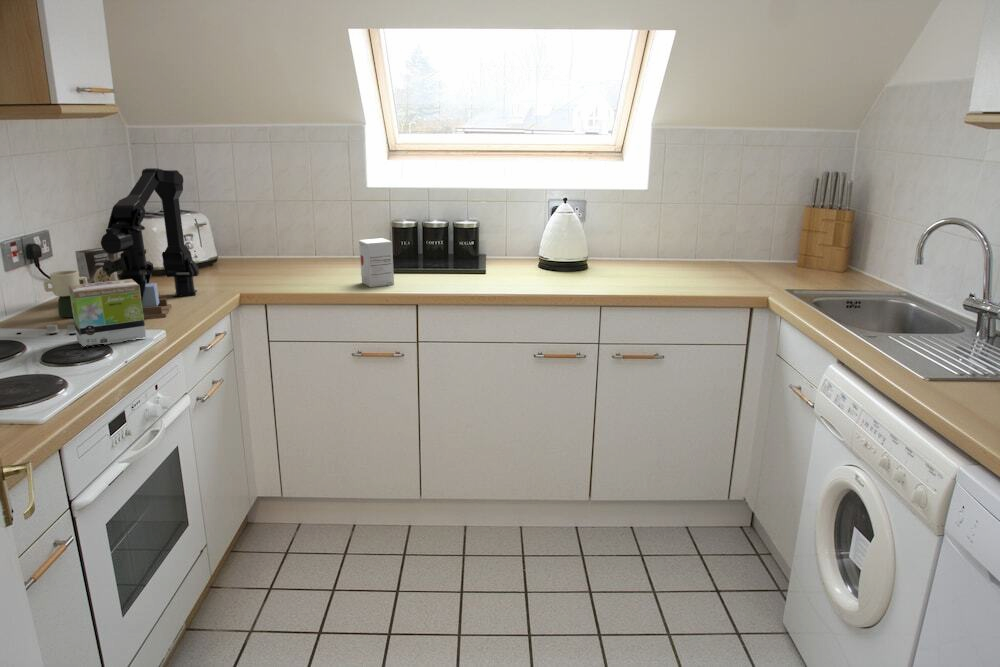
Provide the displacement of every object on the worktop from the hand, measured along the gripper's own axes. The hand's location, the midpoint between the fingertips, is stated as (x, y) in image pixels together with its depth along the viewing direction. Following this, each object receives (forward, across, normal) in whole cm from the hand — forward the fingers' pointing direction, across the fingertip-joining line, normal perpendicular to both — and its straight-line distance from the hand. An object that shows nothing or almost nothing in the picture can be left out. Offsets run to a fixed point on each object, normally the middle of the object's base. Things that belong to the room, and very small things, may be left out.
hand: (141, 300), depth 217 cm
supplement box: (+4, -20, +71) cm, 74 cm away
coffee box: (+4, -25, -16) cm, 30 cm away
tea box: (+4, +27, -3) cm, 28 cm away
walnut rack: (+4, 0, 0) cm, 4 cm away
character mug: (+4, -4, -20) cm, 21 cm away
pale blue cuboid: (+2, 0, 0) cm, 2 cm away
